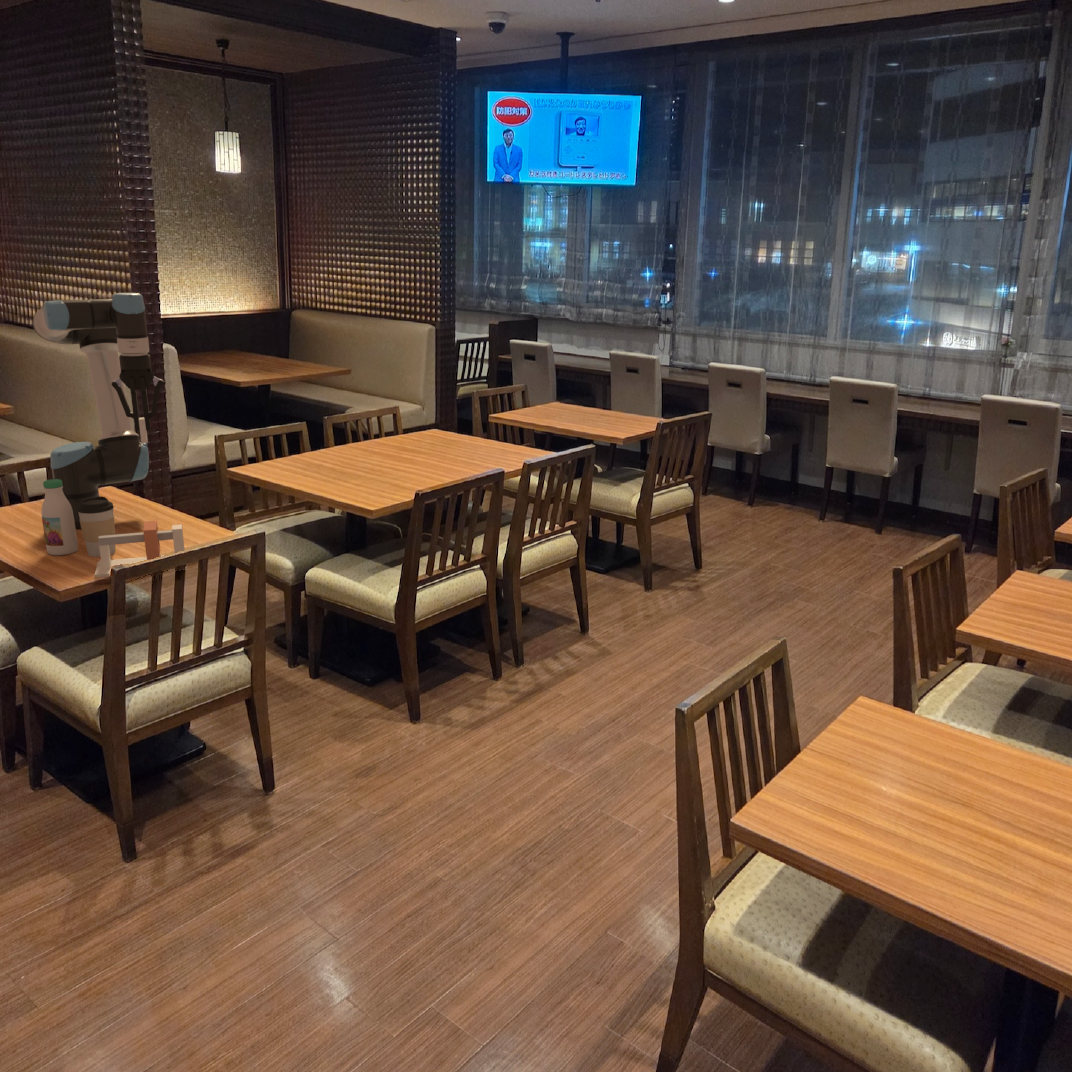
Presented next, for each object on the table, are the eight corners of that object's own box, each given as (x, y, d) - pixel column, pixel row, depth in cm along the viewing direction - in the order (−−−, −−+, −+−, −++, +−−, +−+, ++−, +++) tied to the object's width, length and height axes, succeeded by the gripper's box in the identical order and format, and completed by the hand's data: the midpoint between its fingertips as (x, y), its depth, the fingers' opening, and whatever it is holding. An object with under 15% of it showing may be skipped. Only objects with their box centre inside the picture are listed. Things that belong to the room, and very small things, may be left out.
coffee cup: (106, 559, 256) (98, 505, 251) (76, 556, 257) (68, 503, 253) (126, 548, 264) (119, 496, 259) (97, 546, 266) (90, 494, 261)
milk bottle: (70, 545, 266) (60, 475, 260) (83, 551, 262) (73, 480, 256) (42, 551, 261) (30, 480, 254) (55, 558, 256) (44, 486, 250)
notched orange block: (148, 550, 254) (144, 521, 251) (160, 549, 255) (156, 520, 252) (146, 560, 247) (143, 530, 244) (159, 559, 247) (155, 529, 245)
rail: (98, 563, 252) (93, 527, 249) (187, 555, 259) (183, 520, 256) (94, 577, 242) (89, 540, 239) (186, 569, 249) (183, 532, 246)
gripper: (106, 356, 245) (117, 446, 252) (160, 354, 249) (170, 443, 256) (108, 352, 252) (119, 440, 259) (161, 351, 256) (170, 438, 263)
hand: (144, 442), depth 258 cm, fingers closed
